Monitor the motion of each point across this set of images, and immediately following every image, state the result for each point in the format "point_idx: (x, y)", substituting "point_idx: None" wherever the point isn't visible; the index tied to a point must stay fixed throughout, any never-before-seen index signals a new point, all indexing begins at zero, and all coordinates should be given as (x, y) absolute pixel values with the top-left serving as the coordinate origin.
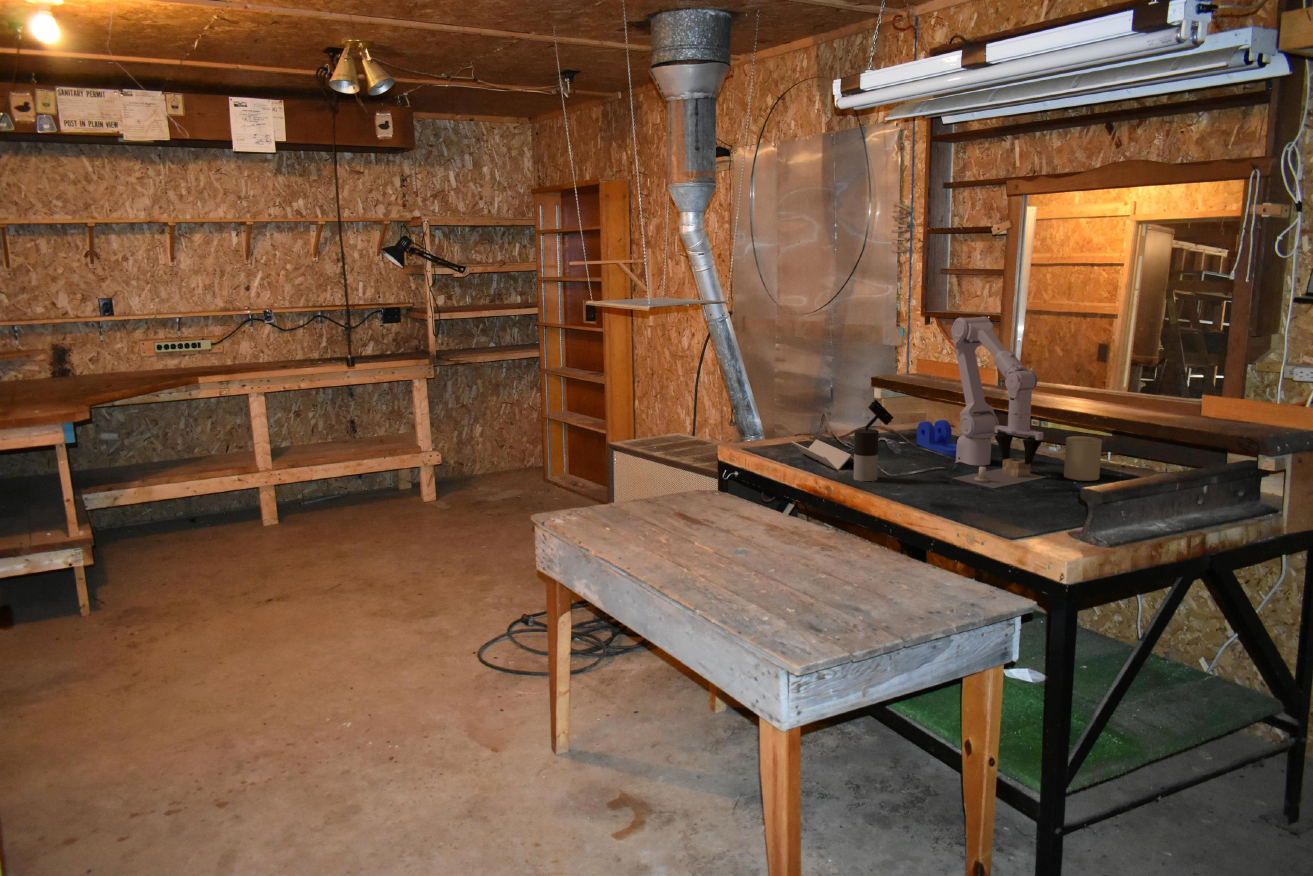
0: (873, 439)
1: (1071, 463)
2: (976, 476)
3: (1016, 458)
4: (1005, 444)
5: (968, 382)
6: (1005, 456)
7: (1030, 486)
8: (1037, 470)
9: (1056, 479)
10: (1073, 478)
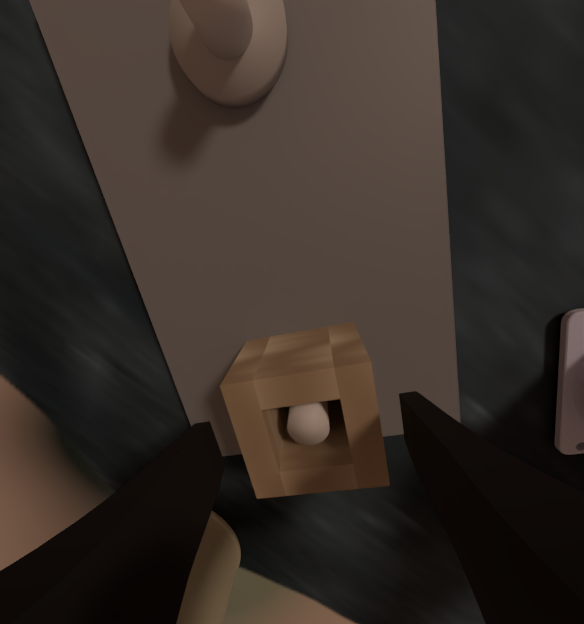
0: None
1: None
2: (365, 102)
3: (358, 472)
4: (478, 538)
5: None
6: (409, 423)
7: (129, 311)
8: (382, 532)
9: None
10: None
